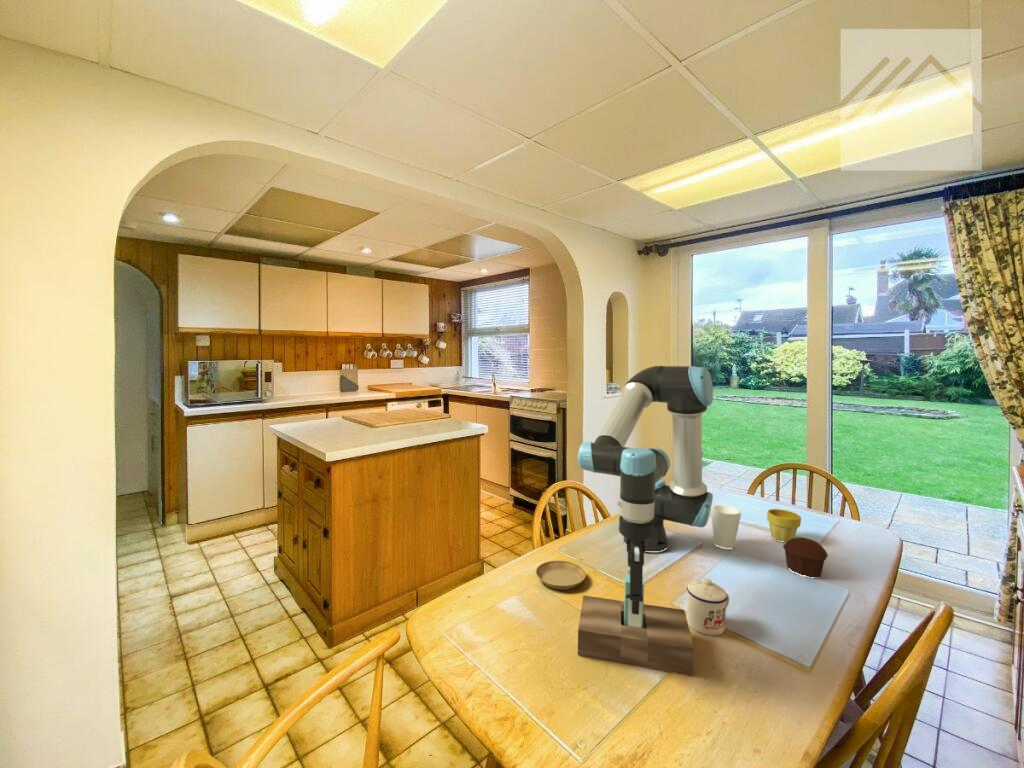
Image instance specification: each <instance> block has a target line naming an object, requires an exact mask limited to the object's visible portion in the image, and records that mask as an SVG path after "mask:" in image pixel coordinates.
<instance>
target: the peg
mask: <svg viewBox="0 0 1024 768" xmlns="http://www.w3.org/2000/svg"><path fill="white" fill-rule="evenodd" d="M624 574H625V575H624V577H625V578H624V580H625V581H624V601H625V605H624V625H625V626H628V609H629V598H626V594H627V595H629V594H630V574H628V572H625V573H624ZM642 597H643V601H642V617H641V628H643V604H644V603H645V600H644V599H645V598H644V597H645V582H644V578H643V583H642ZM631 627H633V626H631ZM637 628H640V627H637Z"/></svg>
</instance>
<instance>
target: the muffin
mask: <svg viewBox="0 0 1024 768" xmlns="http://www.w3.org/2000/svg"><path fill="white" fill-rule="evenodd" d="M782 548H783V549H784V554H785V559H786V560H785V562H786V568H787V567H788V568H790V569H791V570H792V571H794V572H797V573H799V574H801V575H806V576H809V577H820V578H821V575H822V573H823V568H824V565H825V561H826V560H827V559H828V556H829V554H828V553H827V550H826V549H825V548H824V547H823V546H822V545H821V544H820V543H819V542H817V541H815V540H813V539H810V538H807V537H800V536H799V537H794V538H793V539H790V540H788V541H787V542H786V543H783V545H782ZM788 568H787V569H788Z"/></svg>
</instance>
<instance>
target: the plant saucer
mask: <svg viewBox="0 0 1024 768" xmlns="http://www.w3.org/2000/svg"><path fill="white" fill-rule="evenodd" d="M535 575H536V577H537V578H538V579H539V580H540V582H542V583H543V584H544V585H545V586H546V587H548V588H551V589H554V590H559V591H566V590H572V589H574V588H575V587H578V585H580V584H581V583H582V582H583V581H584V580H585V579H586V575H587V574H586V571H585V569H584V568H583V567H582V566H580V565H578V563H577V564H576V563H574V562H571V561H566V560H550V561H545V562H543V563H540V565H538V566H537V567H536V569H535Z"/></svg>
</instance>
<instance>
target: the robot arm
mask: <svg viewBox="0 0 1024 768" xmlns="http://www.w3.org/2000/svg"><path fill="white" fill-rule="evenodd" d="M713 394H714V386H713V379H712V377H711V373H710V372H709V370H708V369H707V368H705V367H703V366H702V367H701V366H693V365H688V366H687V365H684V366H683V365H677V366H676V365H655V366H649V367H647V368H645V369H643V370H641V371H639V372H637V373H635V374H634V375H633V376H632V377H631V378H629V379H628V381H627V382H626V383H625V385H624V386H623V387H622V391H621V398H620V399H619V401H618V402H617V404H616V406H615V407H614V409H613V411H612V412H611V414H610V415H609V418H607V420H606V422H605V424H604V425H603V427H602V429H601V431H600V432H599V434H598V436H597V437H596V439H595V440H594V442H592V441H588V442H587V441H586V442H583V443H581V444H580V446H579V449H578V453H577V462H578V466H579V468H581V470H583V471H588V472H591V473H594V474H602V475H609V476H616V477H620V479H619V480H620V484H619V485H620V486H619V488H620V489H619V491H620V492H619V493H620V494H619V499H620V500H618V501H617V502H616V504H617V506H619V519H618V532H619V533H620V535H621V536H623V540H624V541H623V543H624V542H625V543H626V544H627V546H626V552H627V566H628V567H627V574H630V594H629V595H627V594H626V598H629V609H628V626H633V627H640V628H641V617H642V601H643V597H642V583H643V579H644V575H643V574H644V573H643V570H644V565H645V554H646V553H645V551H661V550H664V549H665V548H667V547H668V548H669V540H668V539H669V538H668V535H667V533H666V529H665V525H664V521H668V522H673V523H678V524H681V525H682V524H683V525H688V526H690V527H695V528H696V527H698V528H704V527H706V525H707V524H708V521H709V518H710V516H711V507H712V506H713V500H714V498H713V497H714V496H713V493H712V492H710V491H708V485H706V483H704V481H703V443H702V442H703V440H702V439H703V432H702V431H703V425H702V424H703V417H702V416H703V415H704V413H706V411H707V410H708V407H709V406H711V405H712V404H713V400H714V395H713ZM652 403H665V404H666V410H667V412H669V413H670V414H671V415H672V416H671V417H672V453H673V455H672V456H673V458H672V459H673V480H671V481H670V483H669V484H668V485H667V484H666V482H665V480H664V479H663V478H665V476H666V475H667V473H668V472H669V470H670V466H671V461H670V457H669V456H668V454H667V453H666V452H665V450H662V449H661V448H659V447H649V448H643V447H628V446H627V447H626V444H627V442H628V441H629V439H630V436H631V435H632V433H633V431H634V428H635V427H636V425H637V423H638V422H639V420H640V418H641V416H642V414H643V413H644V410H645V409H646V408H648V407H649V406H650V405H651V404H652Z"/></svg>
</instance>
